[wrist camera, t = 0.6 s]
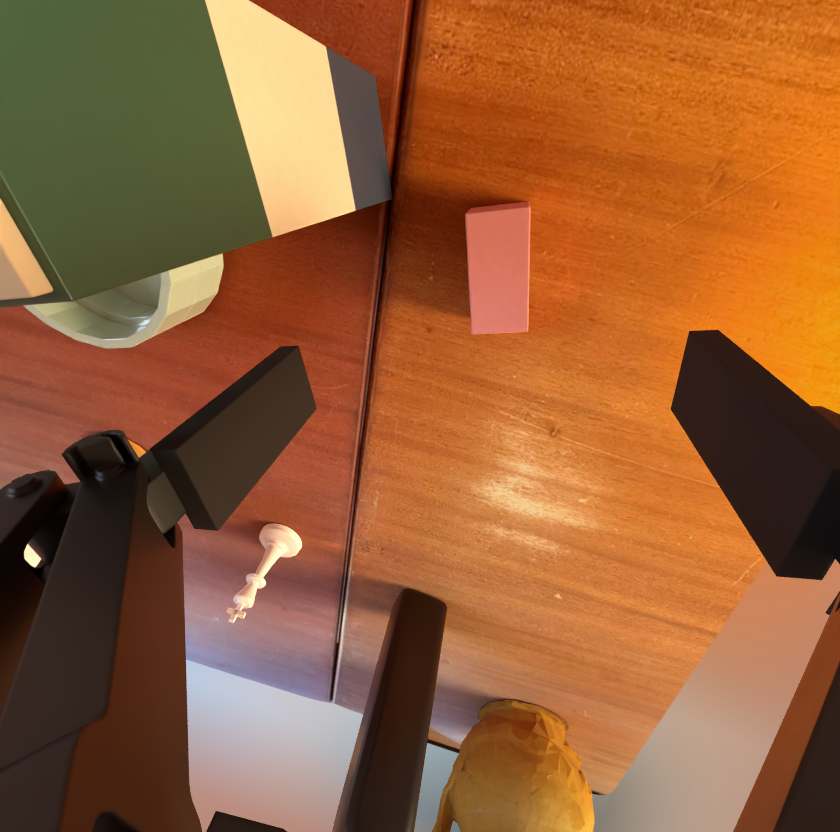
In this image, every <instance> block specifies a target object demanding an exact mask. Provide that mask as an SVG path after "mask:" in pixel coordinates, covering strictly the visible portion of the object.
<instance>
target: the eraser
mask: <svg viewBox="0 0 840 832" xmlns="http://www.w3.org/2000/svg"><path fill="white" fill-rule="evenodd" d="M465 227H466V245H467V262H468V280H469V298H470V316H471V333H472V334H491V333H514V332H528V310H529V259H530V205H529V202H518V203H510V204H501V205H493V206H484V207H476V208H470V209H469V210H468V211H467V212H466V214H465Z"/></svg>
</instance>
